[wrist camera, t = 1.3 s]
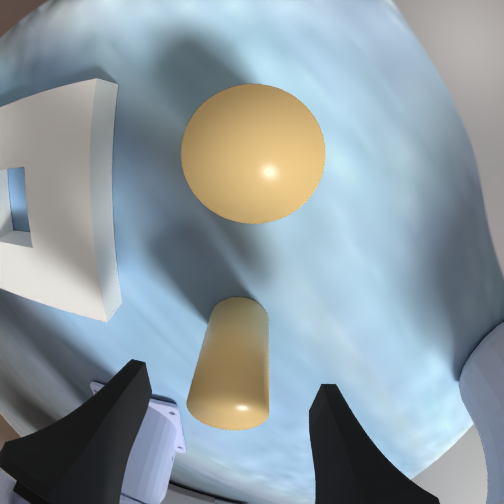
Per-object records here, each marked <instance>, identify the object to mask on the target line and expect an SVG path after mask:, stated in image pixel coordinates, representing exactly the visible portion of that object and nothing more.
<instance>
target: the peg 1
mask: <svg viewBox="0 0 504 504" xmlns="http://www.w3.org/2000/svg"><path fill="white" fill-rule="evenodd" d="M181 162H182V168H183V172H184V176H185V178H186V180H187V183H188V185H189V187H190V188H191V190H192V192H193V193H194V194H195V196H196V197H197V198H198V199H199V200H200V201H201V202H202V203H203V204H204V205H205V206H206V207H207V208H208V209H210V210H211V211H213V212H214V213H216V214H217V215H219V216H221V217H224V218H226V219H229V220H232V221H235V222H240V223H249V224H258V223H266V222H271V221H275V220H278V219H281V218H283V217H285V216H287V215H289V214H291V213H292V212H294V211H296V210H297V209H298V208H299V207H301V206H302V205H303V204H304V203H305V202H306V201H307V200H308V199H309V198H310V196H311V195H312V194H313V192H314V191H315V189H316V187H317V186H318V184H319V182H320V179H321V176H322V174H323V169H324V165H325V143H324V138H323V135H322V132H321V129H320V126H319V124H318V122H317V120H316V119H315V117H314V116H313V114H312V113H311V111H310V110H309V109H308V108H307V107H306V106H305V105H304V104H303V103H302V102H301V101H300V100H298V99H297V98H296V97H294V96H293V95H291V94H289V93H288V92H286V91H283V90H281V89H279V88H276V87H272V86H268V85H262V84H244V85H238V86H234V87H230V88H228V89H225V90H222V91H220V92H219V93H217V94H215V95H213V96H212V97H210V98H209V99H208V100H206V101H205V102H204V103H203V104H202V105H201V106H200V107H199V108H198V109H197V110H196V112H195V113H194V114H193V116H192V117H191V119H190V121H189V122H188V125H187V127H186V129H185V132H184V135H183V139H182V145H181Z"/></svg>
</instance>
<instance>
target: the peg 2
mask: <svg viewBox="0 0 504 504" xmlns="http://www.w3.org/2000/svg"><path fill="white" fill-rule="evenodd" d="M187 408H188V410H189V412H190V413H191V414H192V416H194V417H195V418H196V419H197V420H199V421H200V422H202V423H204V424H206V425H209V426H212V427H215V428H219V429H225V430H245V429H250V428H253V427H256V426H258V425H260V424H262V423H263V422H264V421H265V420H266V419H267V418H268V415H269V319H268V315H267V312H266V311H265V309H264V308H263V307H262V306H261V305H260V304H259V303H257V302H256V301H254V300H252V299H249V298H245V297H230V298H226V299H224V300H222V301H220V302H219V303H217V304H216V305H215V307H214V308H213V310H212V312H211V315H210V319H209V322H208V326H207V329H206V333H205V337H204V340H203V344H202V347H201V351H200V354H199V358H198V362H197V365H196V369H195V373H194V376H193V380H192V384H191V387H190V391H189V395H188V399H187Z"/></svg>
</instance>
